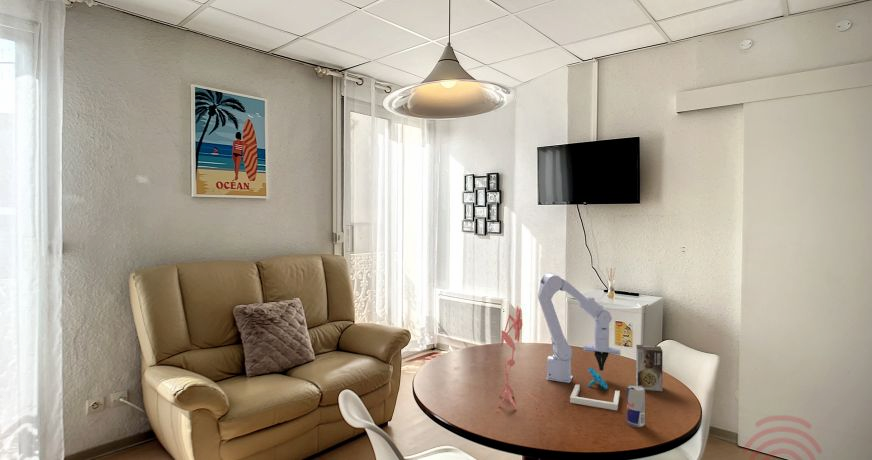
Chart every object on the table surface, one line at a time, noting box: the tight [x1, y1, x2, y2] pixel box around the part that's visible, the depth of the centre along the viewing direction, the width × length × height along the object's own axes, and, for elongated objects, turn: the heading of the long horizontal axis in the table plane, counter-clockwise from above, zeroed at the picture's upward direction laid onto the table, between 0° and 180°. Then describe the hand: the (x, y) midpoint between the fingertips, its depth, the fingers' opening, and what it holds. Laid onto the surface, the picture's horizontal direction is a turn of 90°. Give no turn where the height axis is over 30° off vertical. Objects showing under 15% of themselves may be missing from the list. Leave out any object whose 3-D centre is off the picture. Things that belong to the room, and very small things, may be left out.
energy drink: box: [626, 384, 646, 428], centre depth 149 cm, size 5×5×12 cm
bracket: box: [569, 383, 621, 411], centre depth 169 cm, size 16×14×2 cm
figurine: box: [495, 305, 539, 414], centre depth 165 cm, size 15×26×35 cm, turn 171°
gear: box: [587, 367, 609, 390], centre depth 182 cm, size 11×6×10 cm
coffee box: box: [635, 344, 664, 392], centre depth 181 cm, size 9×6×16 cm
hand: (601, 369), depth 190 cm, fingers closed
